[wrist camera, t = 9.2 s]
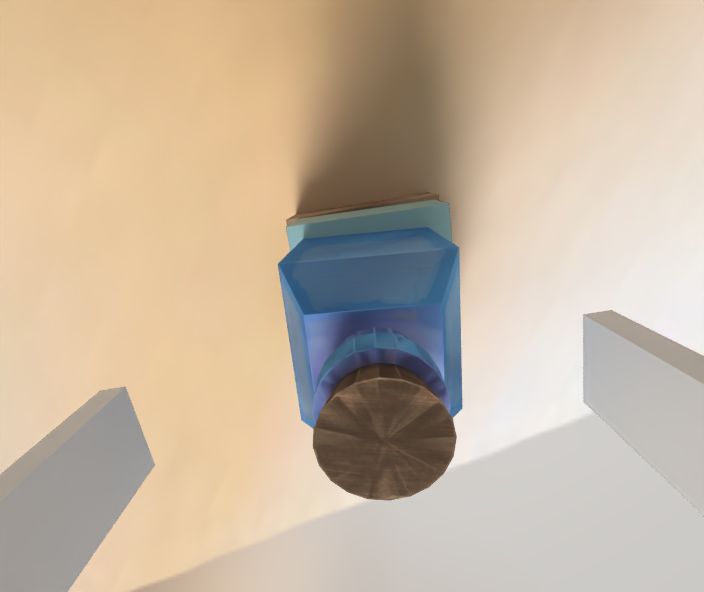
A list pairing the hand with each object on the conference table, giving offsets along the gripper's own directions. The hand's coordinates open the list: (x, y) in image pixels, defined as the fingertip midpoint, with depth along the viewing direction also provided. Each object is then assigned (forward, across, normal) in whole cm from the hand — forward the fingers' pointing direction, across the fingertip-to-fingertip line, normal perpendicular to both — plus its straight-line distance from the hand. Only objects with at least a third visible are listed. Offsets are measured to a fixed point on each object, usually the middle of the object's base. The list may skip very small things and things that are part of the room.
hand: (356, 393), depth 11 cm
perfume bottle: (+10, +1, 0) cm, 10 cm away
